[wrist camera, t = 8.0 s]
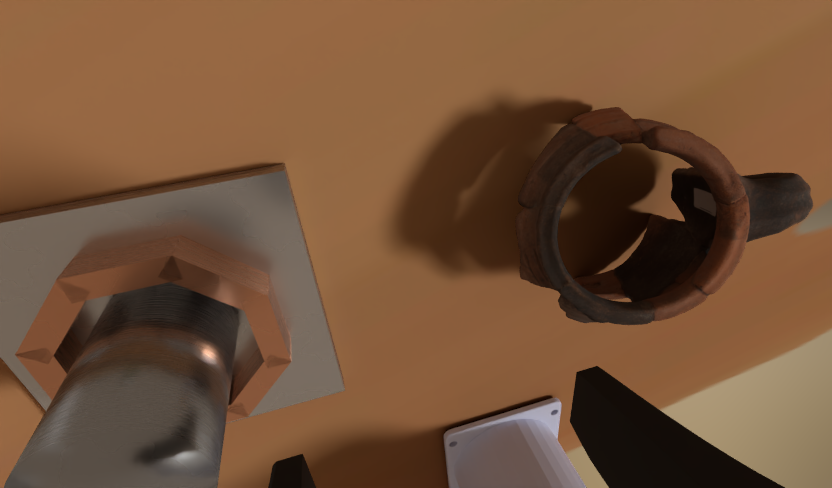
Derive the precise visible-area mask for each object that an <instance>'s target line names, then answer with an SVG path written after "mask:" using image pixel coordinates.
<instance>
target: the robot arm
mask: <svg viewBox="0 0 832 488" xmlns="http://www.w3.org/2000/svg"><path fill="white" fill-rule="evenodd" d="M560 413H561V402H560V401H559V399H558V398H551V399H548V400H544V401H541V402H538V403H535V404H531V405H528V406H525V407H522V408H518V409H515V410H512V411H508V412H505V413H502V414H499V415H495V416H492V417H489V418H486V419H482V420H479V421H476V422H473V423H469V424H466V425H463V426H459V427H456V428H453V429H450V430H448V431H446V432H445V434H444V446H445V456H446V465H447V475H448V484H449V488H586V486H585V484H584V483H583V481H582V479H581V478H580V476H579V474H578V473H577V471H576V470H575V468H574V466H573V465H572V463H571V461H570V460H569V458H568V457H567V455H566V453H565V452H564V450H563V448H562V447H561V445H560V444H559V442H558V440H557V438H558V429H559V421H560ZM570 423H571V425H572V426H573V428H574V430H575V432H576V434H577V436H578V438H579V440H580V442H581V444H582V446H583V447H584V449H585V451H586V453H587V455H588V456H589V458H590V460H591V461H592V463H593V464H594V466H595V467H596V469H597V470H598V472H599V473H600V475H601V476H602V478H603V479H604V481H605V482H606V484H607V485H608V486H609V488H785V487H783V486H781V485H779V484H777V483H776V482H774V481H772V480H770V479H768V478H766V477H765V476H763V475H761V474H759V473H757V472H756V471H754V470H752V469H751V468H749V467H747V466H746V465H744V464H742V463H740V462H739V461H737V460H736V459H734V458H732V457H731V456H729V455H727V454H726V453H724V452H722V451H721V450H719V449H718V448H716V447H714V446H713V445H711V444H710V443H708V442H706V441H705V440H703V439H702V438H700V437H698V436H697V435H696V434H694V433H692V432H691V431H690V430H688V429H686V428H685V427H684V426H682V425H681V424H679V423H678V422H676V421H675V420H673V419H672V418H670V417H669V416H667V415H666V414H664V413H663V412H662V411H660V410H659V409H657V408H656V407H654V406H653V405H651V404H650V403H649V402H647V401H646V400H644V399H643V398H642V397H640V396H639V395H637V394H636V393H635V392H633V391H632V390H630V389H629V388H628V387H626V386H625V385H623V384H622V383H621V382H619V381H618V380H616V379H615V378H614V377H612V376H611V375H609V374H608V373H607V372H605V371H604V370H602V369H601V368H599V367H598V366H596V367H592V368H589V369H586V370H582V371H579V372H577V374H576V381H575V388H574V396H573V403H572V410H571V417H570ZM268 488H316V486H315V484H314V481H313V479H312V476H311V474H310V471H309V469H308V466H307V464H306V461H305V459H304V456H303V454H300V455H297V456H294V457H290V458H287V459H283V460H280V461H277V462H276V463H275V464H274V465H273V468H272V473H271V478H270V482H269V487H268Z"/></svg>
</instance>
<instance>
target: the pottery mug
mask: <svg viewBox="0 0 832 488" xmlns="http://www.w3.org/2000/svg"><path fill="white" fill-rule="evenodd" d="M572 123H573V124H568V125H565V126H564V127H562V128H561V129H560V130H559V132H558V133H557V134H556V135H555V136H554V137H553V139H552V140H551V141H550V142H549V143H548V145H547V146H546V147H545V149H544V150H543V151H542V153H541V154H540V156H539V157H538V159H537V160H536V161H535V163H534V165H533V166H532V168H531V170H530V172H529V173H528V176H527V178H526V180H525V183H524V184H523V187H522V189H521V191H520V193H519V196H518V202H519V203H520V205H522V206H523V207H524V208H523V210H522V211H521V212H520V213H519V214H518V215H517V216H516V220H515V221H516V234H517V238H518V245H519V249H520V263H521V266H520V277H521V279H523V280H527V281H529V282H530V283H533V284H535V285H538V286H541V287H546V288H551V289H554V290H556V291H558V292H559V293H560V294H561V295H560V297H559V299H558V302H559V305H560V308H561V309H562V310H563V311H565V312H566V316H567V317H568V318H570V319H573V320H576V321H579V322H583V323H589V322H600V323H605V322H609V323H614V324H622V325H639V324H648V323H650V322H652V321H661V320H664V319H668V318H672V317H675V316H677V315H679V314H682V313H684V312H687V311H689V310H691V309H692V308H694V307H696V306H697V305H699V304H701V303H702V302H704V301H705V300H706V298H707V297H708V295H710V294H713V293H715V292H716V291H717V290H718V289H720V288H721V287H722V285H723V284H724V283H725V281H726V280H727V279H728V278H729V277H730V275H731V274H732V273H733V271H734V270H735V268H736V266H737V264H738V263H739V261H740V259H741V257H742V255H743V252H744V249H745V245H746V242H749V241H752V240H755V239H758V238H762V237H765V236H769V235H773V234H776V233H779V232H781V231H783V230H785V229H787V228H788V227H790V226H792V225H794V224H796V223H799V222H801V221H802V220H804V219H805V218H806V217H807V215H808V214H809V212H810V210H811V209H812V208H813V201H812V199H811V196H810V186H809V185H808V184H807V183H806V182H805V181H804V180H803V179H802V177H801V176H799V175H798V174H795V173H764V174H757V175H748V176H740V175H739V174H737V173H736V171H735V169H734V168H733V166H732V165H731V164H730V162H729V161H728V159H727V158H726V157H725V156H724V155H723V154H722V153H721V152H720V151H719V150H718V149H717V148H716V147H715V146H713V145H712V144H710V143H708V142H707V141H705V140H704V139H702V138H700V137H698V136H696V135H694V134H693V133H691V132H689V131H684V130H679V129H677V128H676V127H673V126H671V125H668V124H665V123H662V122H657V121H653V120H647V119H632V118H631V117H630V116H629V115H628V114H627V113H625V112H624V111H623V110H622V109H621V108H619V107H614V108H606V109H599V110H595V111H591V112H587V113H583V114H581V115H578V116H577V117H575V118H573V119H572ZM624 143H643V144H645V145H646V146H647V147H648V148H649V149H652V150H657V151H661V152H665V153H669V154H672V155H674V156H677V157H679V158H681V159H683V160H684V161H686V162H687V163H689V164H690V165H691V166H693V167H694V168H693V167H690V168H688V169H686V168H678V169H676V170H674V172H673V173H672V191H671V198H672V200H673V201H674V202H675V204H676V205H677V207H678V208H679V210H680V211H681V213H682V214H683V216H684V218H685V222H684V221H678V220H675V219H667V218H665V217H662V216H659V215H651V216H650V217H649V222H648V226H647V230H646V232H645V234H644V237H643V240H642V241H641V243H640V245H639V246H638V247H637V248H636V250H635V251H634V252H633V253H632V254H631V256H630V257H629V258H628V259H627V260H626V261H625V262H624V263H623V264H621V265H620V266H618V267H617V268H615V269H614V270H610V271H607V272H604V273H601V274H596V275H593V276H585V277H577V278H576V279H575V280H573V279H572V277H571V275H570V274H569V273H568V271H567V269H566V268H565V266H564V263H563V261H562V259H561V256H560V253H559V248H558V241H557V233H558V222H559V218H560V214H561V210H562V208H563V207H564V204H565V202H566V199H567V197H568V195H569V194H570V192H571V190H572V189H573V188H574V186H575V185H576V183H577V182H578V181H579V180H580V179H581V178H582V177H583V176H584V175H585V174H586V173H587V172H588V171H589V170H590V169H592V168H593V167H594V166H596V165H597V164H598V163H600V162H602V161H604V160H605V159H607V158H609V157H611V156H613V155H616V154H618V153H619V152H621V150H622V147H621V145H620V144H624ZM622 298H629V299H631V301H632V302H618V301H611V300H608V299H622Z"/></svg>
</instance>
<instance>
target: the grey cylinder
mask: <svg viewBox="0 0 832 488" xmlns="http://www.w3.org/2000/svg"><path fill="white" fill-rule="evenodd" d="M237 336H238V320H237V316H236V314H235V312H234V309H233V308H232V306H231V305H228V304H226V303H223V302H221V301H218V300H215V299H213V298H210V297H208V296H205V295H203V294H200V293H198V292H195V291H193V290H190V289H187V288H185V287H182V286H180V285H177V284H175V283H172V282H168V283H163V284H159V285H154V286H150V287H145V288H141V289H136V290H131V291H127V292H122V293H118V294H116V295H115V296H114V297H112V298H111V300H110V301H109V302H108V303H107V305H106V307H105V308H104V310H103V312H102V314H101V316H100V317H99V319H98V321H97V323H96V324H95V326H94V328H93V330H92V331H91V333H90V335H89V337H88V338H87V340H86V342H85V344H84V345H83V347H82V349H81V351H80V352H79V354H78V356H77V358H76V359H75V361H74V363H73V365H72V367H71V368H70V370H69V372H68V374H67V375H66V377H65V379H64V381H63V382H62V384H61V386H60V388H59V389H58V391H57V393H56V395H55V396H54V398H53V400H52V402H51V403H50V405H49V407H48V409H47V410H46V412H45V414H44V416H43V417H42V419H41V421H40V423H39V425H38V426H37V428H36V430H35V432H34V433H33V435H32V437H31V439H30V440H29V442H28V444H27V446H26V447H25V449H24V451H23V453H22V454H21V456H20V458H19V460H18V461H17V463H16V465H15V467H14V468H13V470H12V472H11V474H10V476H9V477H8V479H7V481H6V483H5V486H4V488H217V485H218V477H219V470H220V462H221V455H222V448H223V440H224V433H225V425H226V418H227V410H228V403H229V395H230V388H231V380H232V373H233V365H234V358H235V350H236V343H237Z"/></svg>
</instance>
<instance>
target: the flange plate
mask: <svg viewBox="0 0 832 488" xmlns="http://www.w3.org/2000/svg"><path fill="white" fill-rule="evenodd" d="M168 282H172V283H175V284H177V285H180V286H182V287H185V288H187V289H190V290H193V291H195V292H198V293H200V294H203V295H205V296H208V297H210V298H213V299H215V300H218V301H221V302H223V303H226V304H228V305H231V306H232V308H233V309H234V312H235V314H236V316H237V320H238V336H237V343H236V350H235V358H234V365H233V373H232V380H231V388H230V395H229V403H228V410H227V418H226V423H230V422H233V421H237V420H240V419H244V418H248V417H251V416H255V415H258V414H262V413H266V412H269V411H273V410H277V409H280V408H284V407H287V406H291V405H295V404H298V403H302V402H305V401H309V400H313V399H316V398H320V397H323V396H327V395H331V394H334V393H338V392H341V391H345V387H344V381H343V376H342V373H341V369H340V365H339V362H338V358H337V354H336V351H335V347H334V343H333V340H332V336H331V332H330V329H329V325H328V321H327V318H326V314H325V310H324V307H323V303H322V299H321V296H320V292H319V288H318V285H317V281H316V277H315V274H314V270H313V266H312V263H311V259H310V255H309V251H308V248H307V244H306V240H305V237H304V233H303V229H302V226H301V222H300V218H299V215H298V211H297V207H296V204H295V200H294V196H293V193H292V189H291V185H290V182H289V178H288V174H287V171H286V167H285V163H284V164H278V165H273V166H267V167H262V168H256V169H251V170H245V171H240V172H234V173H229V174H223V175H218V176H212V177H207V178H201V179H196V180H190V181H185V182H179V183H174V184H168V185H163V186H157V187H152V188H146V189H141V190H135V191H130V192H124V193H119V194H114V195H108V196H103V197H97V198H92V199H86V200H81V201H75V202H70V203H64V204H59V205H53V206H48V207H42V208H37V209H31V210H26V211H20V212H15V213H9V214H4V215H0V357H1V358H2V360H3V361H4V362H5V363H6V364H7V366H8V367H9V368H10V369H11V370H12V371H13V373H14V374H15V375H16V376H17V377H18V379H19V380H20V381H21V382H22V383H23V384H24V386H25V387H26V388H27V389H28V390H29V392H30V393H31V394H32V395H33V396H34V397H35V399H36V400H37V401H38V402H39V403H40V405H41V406H42V407H43V408H44V409H45V411H46V410H47V409H48V407H49V405H50V403H51V402H52V400H53V398H54V396H55V395H56V393H57V391H58V389H59V388H60V386H61V384H62V382H63V381H64V379H65V377H66V375H67V374H68V372H69V370H70V368H71V367H72V365H73V363H74V361H75V359H76V358H77V356H78V354H79V352H80V351H81V349H82V347H83V345H84V344H85V342H86V340H87V338H88V337H89V335H90V333H91V331H92V330H93V328H94V326H95V324H96V323H97V321H98V319H99V317H100V316H101V314H102V312H103V310H104V308H105V307H106V305H107V303H108V302H109V301H110V300H111V298H112V297H114V296H115V295H116V294H118V293H122V292H127V291H131V290H136V289H141V288H145V287H150V286H154V285H159V284H163V283H168Z"/></svg>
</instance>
